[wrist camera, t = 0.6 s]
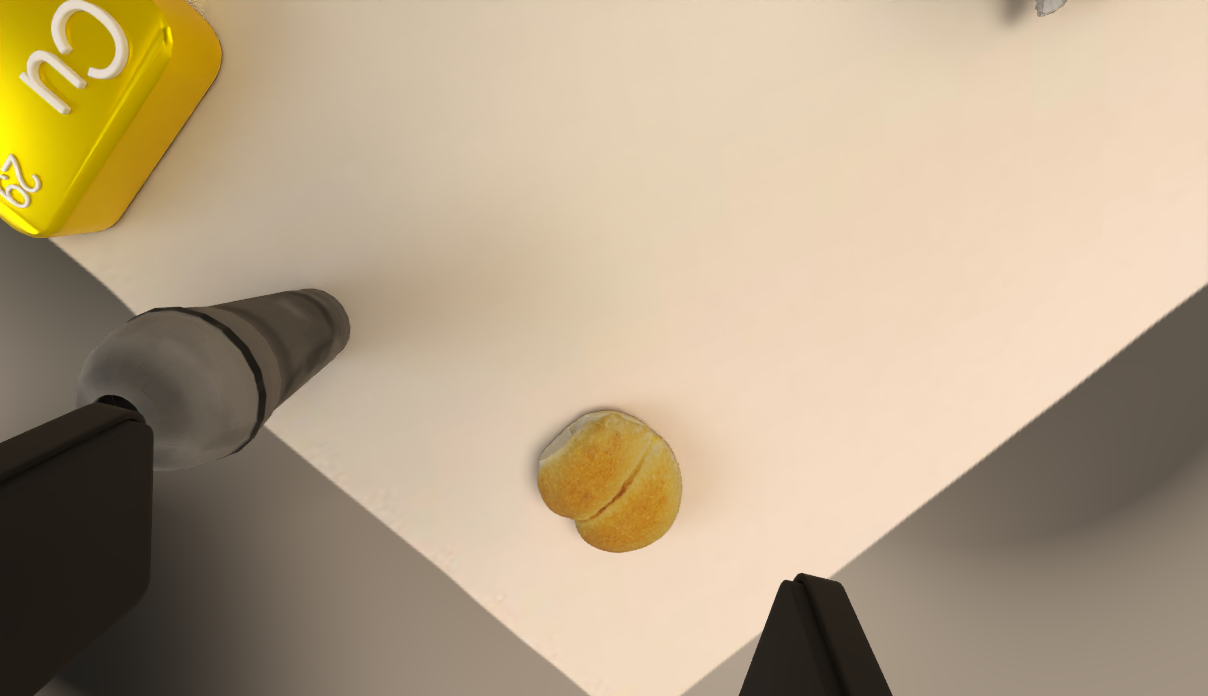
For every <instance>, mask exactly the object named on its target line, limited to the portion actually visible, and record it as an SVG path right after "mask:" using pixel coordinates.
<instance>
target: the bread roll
mask: <svg viewBox="0 0 1208 696" xmlns="http://www.w3.org/2000/svg"><path fill="white" fill-rule="evenodd" d="M538 488H539V491H540V494H541V496H542V498H543V500H544V502H545V503H546V505H547V506H548V507H549V509H550V510H552V511H553V512H554V513H556V514H558V515H560V516H563V517H567V518H571V519H574V520H575V522H576V527H577V530H578V532H579V533H580V535H581V537H582V538H583V539H584V540H585V541H586V542H587V543H588V544H590V545H591V546H593V547H595V548H597V549H601V550H604V551H607V552H615V553H622V552H628V551H633V550H637V549H640V548H643V547H646V546H648V545H650V544H652V543H653V542H655V541H656V540H658V539H659V538H661V537H662V536H663V535H664V534H665V533H666V532H667V531H668V530H669V528H670V527H671V526H672V524H673V522H674V520H675V518H676V516H677V514H678V511H679V507H680V503H681V497H682V480H681V472H680V468H679V464H678V462H677V460H676V457H675V455H674V452H673V451H672V449H671V448H670V446H669V445H668V443H667V442H666V441H665V440H663V439H662V438H661V437H659V436H658V435H657V434H655V433H654V432H653V431H652V430H651V429H650V428H649V427H648V426H647V425H646V424H645V423H643V422H642V421H640V420H638V419H636V418H634V417H632V416H630V415H627V414H624V413H620V412H616V411H611V410H609V411H599V412H594V413H588V414H585V415H584V416H582V417H581V418H579V419H578V420H577V421H575V422H574V423H573V424H571V425H570V426H568V427H567V428H566V429H565V430H564V431H563V432H562V433H561V434H560V435H559V436H558V437H557V438H556V439H555V440H554V441H553V442H552V443H551V444H550V445H549V446H548V447H547V448H546V449H545V450H544V452H543V454H542V455H541V456H540V458H539V472H538Z"/></svg>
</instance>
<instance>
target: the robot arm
mask: <svg viewBox="0 0 1208 696" xmlns="http://www.w3.org/2000/svg"><path fill="white" fill-rule="evenodd" d="M153 453H154V433H153V430H152V428H151V427H150V426H149V425H147V424H146V420H145V418H144V417H143V415H142V414H140V413H139V412H137V411H132V410H128V409H124V408H120V407H116V406H112V405H108V404H104V403H97V402H95V403H91V404H88V405H85V406H83V407H81V408H79V409H76V410H74V411H72V412H70V413H67V414H65V415H63V416H60V417H58V418H56V419H54V420H51V421H49V422H47V423H45V424H43V425H40V426H38V427H35V428H34V429H31V430H29V431H26V432H24V433H22V434H20V435H17V436H15V437H13V438H11V439H8V440H6V441H4V442H2V443H0V696H34V695H35V694H36V693H37V692H38V691H39V690H40V689H41V688H43V687H44V686H45V685H46V684H47V683H48V682H49V681H51V680H52V679H53V678H54V677H55V676H56V675H58V674H59V673H60V672H61V671H62V670H63V669H64V668H66V667H67V666H68V665H69V664H70V663H71V662H72V661H74V660H75V659H76V658H77V657H78V656H79V655H80V654H82V653H83V652H84V651H85V650H86V649H87V648H88V647H90V646H91V645H92V644H93V643H94V642H95V641H96V640H98V639H99V638H100V637H101V636H102V635H103V634H104V633H106V632H107V631H108V630H109V629H110V628H111V627H112V626H113V625H114V624H116V623H117V622H118V621H119V620H120V619H122V618H123V617H124V616H125V615H126V614H127V613H128V612H130V611H131V610H132V609H133V608H134V607H135V606H136V605H137V604H138V603H139V602H140V600H141V599H142V598H143V596H144V594H145V592H146V590H147V588H148V585H149V582H150V566H151V565H150V564H151V528H152V491H153ZM739 696H892V693H891V691H890V689H889V687H888V684H887V682H886V680H885V678H884V675H883V673H882V671H881V669H880V667H879V664H878V662H877V660H876V658H875V656H874V654H873V651H872V649H871V647H870V645H869V643H868V640H867V638H866V636H865V634H864V632H863V629H862V627H861V625H860V623H859V620H858V618H857V616H856V614H855V612H854V609H853V607H852V605H851V603H850V600H849V598H848V596H847V594H846V592H845V589H844V587H843V586H842V585H841V583H839V582H837V581H832V580H828V579H824V578H820V577H816V576H812V575H808V574H804V573H800V574H798V575H797V576H796V577H795V578H794V580H793V581H789V580H784V581H783V582H782V583H781V585H780V587H779V589H778V592H777V595H776V597H775V600H774V603H773V605H772V608H771V611H770V613H769V616H768V619H767V621H766V624H765V627H764V630H763V632H762V635H761V638H760V640H759V643H758V646H757V648H756V651H755V654H754V656H753V659H752V662H751V665H750V667H749V670H748V672H747V675H746V678H745V680H744V683H743V686H742V689H741V691H740V694H739Z"/></svg>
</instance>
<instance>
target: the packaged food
mask: <svg viewBox="0 0 1208 696" xmlns="http://www.w3.org/2000/svg"><path fill="white" fill-rule="evenodd" d="M1035 1H1036V2H1037V5H1036V7H1035V8H1036V10H1037V11H1038V12H1037V16H1038V17H1043V16H1045V15H1048V14H1050V13H1053V12H1055V11H1056V10H1057V9H1059V8H1060V7H1062V6H1063V5H1064V4H1065V3H1066V2H1067V1H1068V0H1035Z"/></svg>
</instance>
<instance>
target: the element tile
mask: <svg viewBox="0 0 1208 696" xmlns="http://www.w3.org/2000/svg"><path fill="white" fill-rule="evenodd" d="M221 59H222V52H221V46H220V42H219V40H218V38H217V36H216V34H215V32H214V30H213V29H212V27H211V26H210V25H209V23H208V22H207V21H206V20H205V19H204V18H203V17H202V16H201V15H200V14H199V13H198V12H197V11H196V10H194V9H193V8H192V7H191V6H190V5H189V4H188V3H187V2H186V1H185V0H0V218H1V219H2V220H4V221H5V222H6V223H7V224H9V225H10V226H11V227H12V228H13V229H15V230H17V231H19V232H21V233H23V234H26V235H29V236H31V237H34V238H50V237H58V236H66V235H74V234H82V233H91V232H99V231H103V230H105V229H107V228H109V227H111V226H112V225H114V224H115V223H116V222H117V221H118V220H119V219H120V217H121V216H122V214H123V213H124V211H125V210H126V209H127V207H128V206H129V204H130V203H131V201H132V200H133V198H134V197H135V195H136V194H137V192H138V191H139V190H140V188H141V187H142V185H143V184H144V182H145V181H146V179H147V178H148V176H149V175H150V173H151V172H152V170H153V169H154V168H155V166H156V165H157V163H158V162H159V160H160V159H161V157H162V156H163V154H164V153H165V151H166V150H167V149H168V147H169V146H170V144H171V143H172V141H173V140H174V138H175V137H176V135H177V134H178V132H179V131H180V130H181V128H182V127H183V125H184V124H185V122H186V121H187V119H188V118H189V116H190V115H191V113H192V112H193V111H194V109H195V108H196V106H197V105H198V103H199V102H200V100H201V99H202V97H203V96H204V94H205V93H206V91H207V90H208V89H209V87H210V86H211V84H212V83H213V81H214V80H215V78H216V76H217V74H218V72H219V69H220V65H221Z"/></svg>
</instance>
